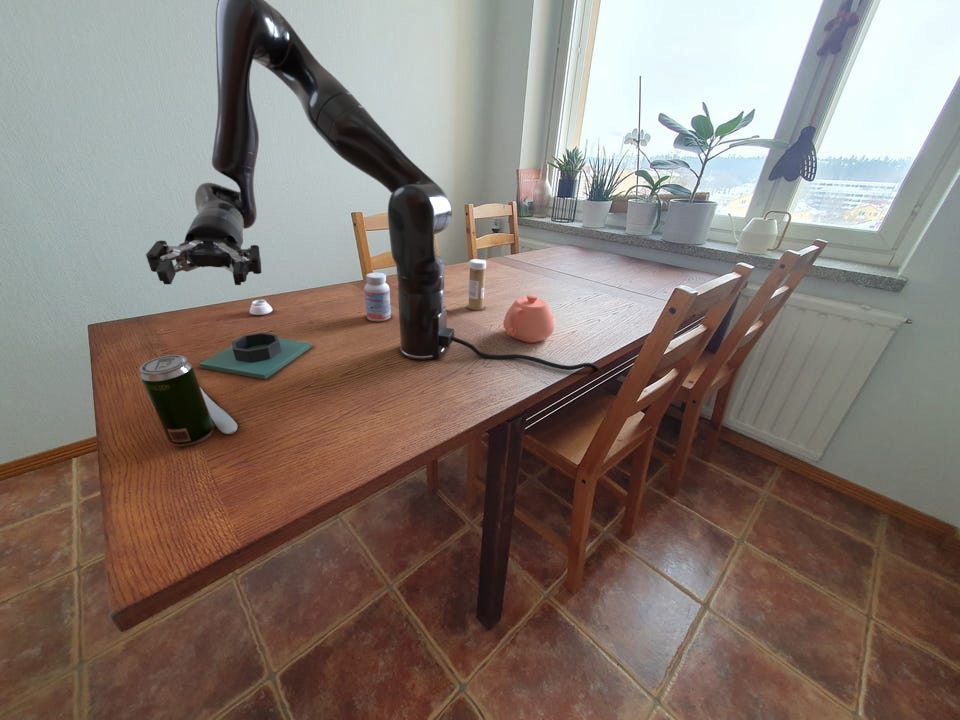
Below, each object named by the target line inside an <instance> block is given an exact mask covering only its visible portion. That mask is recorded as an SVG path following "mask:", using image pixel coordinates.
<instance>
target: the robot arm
mask: <svg viewBox="0 0 960 720" xmlns="http://www.w3.org/2000/svg"><path fill="white" fill-rule="evenodd" d="M215 9H216V10H215V49H216V50H215V53H216V55H215V57H216V81H217V83H216V84H217V114H216V116H217V117H216V125H215V126H216V128H215V133H214V141H213V148H212V156H211V165H212V167H213V169H214V170H215V171H217V172H218V173H219V174H221V175H223V176H225V177H227V178H228V179H229V180H232V182H234V183H235V184H236V185H237V187H238V188H239V191H238V190H235V189H232V188H230V187H226V186H222V185H220V184H219V183H218V184H217V183H215V182H214V183H213V182H203V183H201V184H200V185H198V187H197V188H196V191H195V195H194V204H195V208H196V211H197V215H196V216H195V217H194V218H193V220H192V222H191V224H190V226H189V228H188V230H187V232H186V234H185V237H184V242H182V243H179V244H178V246H175V245H169V244H168V243H167V241H166V240H156V241H155V243H154V244H153V245H152V246H151V247H150V249H149V250H148V251H147V253H146V254H145V257H146V259H147V262H148V266H149V269H150V271H151V272H153V273H156V274H157V277H158V280H159V281H160V282H162V283H163V284H164V285H172V283H173V281H174V280H175V276H176V273H179V272H182V271H183V272H187V273H188V272H191V271H193V270H196V269H198V268H207V267H208V268H209V267H211V268H222V269H225V270H227V271H229V272H230V273H232V276H233V283H234V285H235V286H242V283H245V282H247V276H248V275H249V273H253V274H255V275H260V274H262V259H261V252H260V246H259V245H256V244H252V245H250V247H248V248H247V249H245V248H244V249H243V248H242V245H243V242H244V233H243V232H244V230H246V229H249V228H251V227H253V225H254V224H255V223H256V220H257V217H258V210H257V203H256V197H255V184H254V178H255V169H256V165H257V158H258V153H259V147H260V131H259V127H258V122H257V118H256V117H257V116H256V114H255V110H254V106H253V105H254V104H253V100H252V94H251V69H252V65H253V61H254V62H256V63H257V64H259V65H261V66H263V67H264V68H266V69H267V70H269V71H270V72H271V73H272V74H273V75H275V76H276V77H277V78H278V79H279V80H281V81H282V82H283V83H284V84H285V85H286V86H287V87H288V88H289V89H290V91H292V92H293V94H294V95H295V96H296V97H297V99H298V100H299V102H300V104H301V108H302V109H303V112H304V114H305V116H306V118H307V120H308V122H309V123H310V125H311V127H313V129H314V130H315V132H316V133H317V134H318V135H319V136H320V138H322V139H323V140H324V142H325V143H326V144H327V145H328V146H329V147H330V148H331V150H333V151H334V152H335V153H336V154H337V155H338V156H339V157H340V158H341V159H343V160H344V161H345V162H347V163H348V164H350V165H351V166H353V167H354V168H356V169H357V170H359V171H361V172H362V173H365V174H366V175H367V176H369V177H371V178H372V179H374V180H376V181H377V182H379V183H380V184H381V185H382V186H383V187H385V188H386V189H387V190H388V191H389V192H390V193H391V194H390V196H389V199H388V204H387V224H388V233H389V234H388V235H389V243H390V252H391V256H392V259H393V261H394V264H395V266H396V278H397V279H396V280H397V282H396V283H397V301H398V320H399V322H398V323H399V335H400V336H399V339H400V341H399V342H400V347H399V349H400V353H401V354H402V356H404V357H406V358H408V359H411V360H418V361H425V360H426V361H427V360H439V359H440V358H441V356H442V355H443V354H444V352H445V350H446V349H447V348H449V347H450V346H451V344H452V343H453V342H455V343H457V344H459V345H462V346H464V347H467V348H468V349H470V350H472V351H473V353H475V354H476V355H477V356H479V357H481V358H485V359H489V360H490V359H492V360H507V359H508V360H510V359H518V360H525V361H526V360H527V361H531V362H535V363H537V364H541V365H543V366H547V367H550V368H554V369H558V370H563V371H574V370H579V369H584V368H592V369H593V370H594V371H596V372H600V371H601V369H600V367H598V365H596V363H593V362H582V363H578V364H574V365H566V364H559V363H555V362H551V361H549V360H545V359H542V358H539V357H535V356H532V355H526V354H519V353H508V354H491V353H490V354H489V353H485V352H483V351H481V350H479V349H478V348H477V347H476V346H475V345H474V344H472V343H470V342H468V341H466V340H464V339H461V338H459V337H456V336H455V328H450V327H447V325H448V321H447V320H448V319H447V318H448V309H447V307H446V306H445V261H444V258H443V257H441V256H440V255H438V254H437V253H436V247H435V235H437V234H439V233H441V232H443V231H445V230H446V229H447V228H448V227H449V226H450V224H451V221H452V218H453V209H452V204H451V201H450V199H449V197H448V195H447V193H446V192H445V190H444V189H443V188H441V186H439V184H437V183H436V182H435V181H434V180H433V179H432V178H431V177H430V176H428V175H427V173H425V172H424V171H423V170H422V169H421V168H420V167H419V166H417V164H416V163H414V162H413V161H412V159H410V158H409V157H408V156H407V154H405V153H404V152H403V151H402V149H400V147H399V146H398V144H397V143H396V142H395V141H394V140H393V139H392V138H391V136H389V134H388V133H387V132H386V131H385V130H384V129H383V127H381V126H380V124H379V123H378V122H377V121H376V120H375V119H374V117H372V115H371V114H370V113H369V112H368V111H367V109H366V108H365V107H364V106H363V104H361V103H360V102H359V100H358V99H357V98H356V97H355V96H354V95H353V94H352V93H351V91H349V90H348V89H347V88H346V87H345V86H344V85H343V83H341V82H340V80H338V79H337V78H336V77H335V76H334V75H333V74H332V73H331V72H330V71H328V70H327V69H326V68H325V67H324V66H323V64H321V63H320V62H319V61H318V59H317V58H316V57H315V56H314V55H313V53H311V51H310V50H309V48H308V47H307V45H306V44H305V43H304V42H303V40H302V39H301V38H300V36H299V35H298V34H297V32H296V31H295V29H294V28H293V26H292V25H291V24H290V22H289V21H288V20H287V19H286V17H284V16H283V14H282V13H281V12H279V11H278V10H277V9H276V8H275V7H274V6H273V5H271V4H270V3H269V2H268V1H266V0H217V2H216V8H215ZM173 261H175V262H176V264H174V263H173Z"/></svg>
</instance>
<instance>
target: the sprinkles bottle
mask: <svg viewBox="0 0 960 720" xmlns="http://www.w3.org/2000/svg"><path fill="white" fill-rule="evenodd" d="M468 267H469V278H468V304H467V308H468V309H470V310H473V311H481V310H483V309H484V306H485V305H484V301H485V300H484V298H485V283H486V282H485V279H486V278H485V277H486V269H487V261H486V260H485V259H479V258H475V259H470V260H469V262H468Z"/></svg>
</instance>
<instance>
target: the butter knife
mask: <svg viewBox="0 0 960 720" xmlns="http://www.w3.org/2000/svg"><path fill="white" fill-rule="evenodd" d="M199 387H200V389H201V392H202V395H203V398H204V400H205V403H206V406H207V409H208V411H209V414H210V417H211V420H212V422H213V424H214V425H215V426H216V427H217V429H218V430H219V431H220V432H221V433H222V434H226V435H231V434H234V433H235V432H237V430H238V424H237V422H236V421H235V420H234V419H233V418H232V417H231V416H230V415H229V414H228V413H227V412H226V410H224V409H223V408H221V407H220V406H218V405H217V404H216V402H214V401H213V399H211V398H210V397H209V396H208V395H207V393H205V391H204V390H203V389H202V387H201V386H200V385H199Z"/></svg>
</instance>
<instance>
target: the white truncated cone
mask: <svg viewBox="0 0 960 720" xmlns="http://www.w3.org/2000/svg"><path fill="white" fill-rule="evenodd" d="M272 312H273V308H272V306H271V305H270V304H269V303H268V302H267V300H265V299H256V300H252V301H251V305H250V309H249V314H251V315H255V316H264V315H267V314H270V313H272Z"/></svg>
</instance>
